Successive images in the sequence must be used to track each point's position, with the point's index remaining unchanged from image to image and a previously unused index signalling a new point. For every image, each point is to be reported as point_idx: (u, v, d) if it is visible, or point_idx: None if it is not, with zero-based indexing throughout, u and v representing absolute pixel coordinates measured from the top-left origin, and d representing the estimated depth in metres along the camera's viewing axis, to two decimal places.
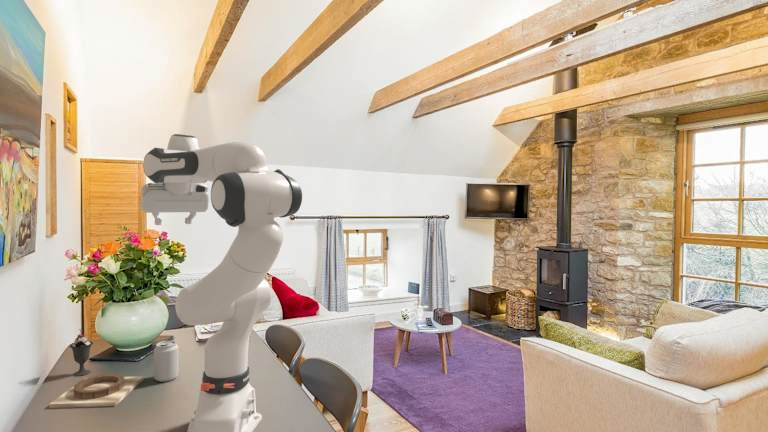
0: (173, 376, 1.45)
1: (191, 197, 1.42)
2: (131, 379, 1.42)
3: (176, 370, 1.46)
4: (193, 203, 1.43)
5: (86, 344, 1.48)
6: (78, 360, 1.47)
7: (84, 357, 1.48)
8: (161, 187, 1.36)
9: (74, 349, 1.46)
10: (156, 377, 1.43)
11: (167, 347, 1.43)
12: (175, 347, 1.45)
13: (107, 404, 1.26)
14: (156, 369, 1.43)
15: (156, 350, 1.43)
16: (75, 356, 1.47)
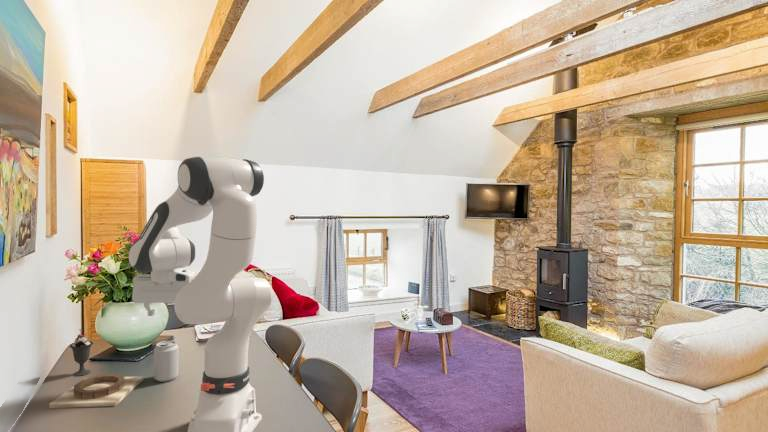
0: (173, 376, 1.45)
1: (176, 287, 1.44)
2: (131, 379, 1.42)
3: (176, 370, 1.46)
4: None
5: (86, 344, 1.48)
6: (78, 360, 1.47)
7: (84, 357, 1.48)
8: (149, 278, 1.44)
9: (74, 349, 1.46)
10: (156, 377, 1.43)
11: (167, 347, 1.43)
12: (175, 347, 1.45)
13: (107, 404, 1.26)
14: (156, 369, 1.43)
15: (156, 350, 1.43)
16: (75, 356, 1.47)
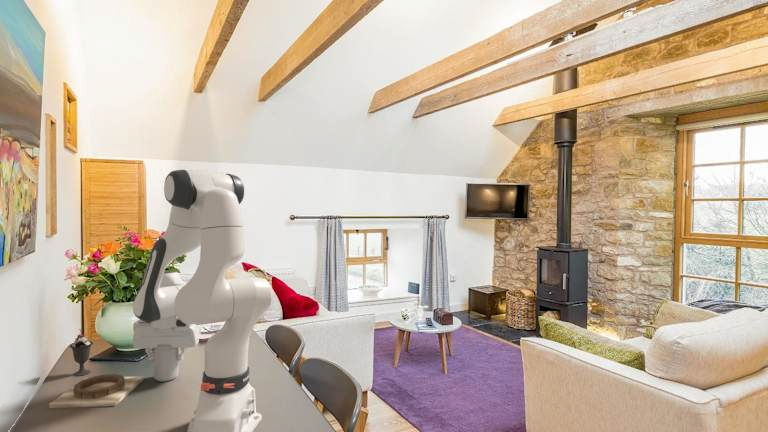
0: (173, 376, 1.45)
1: (176, 332, 1.45)
2: (131, 379, 1.42)
3: (176, 370, 1.46)
4: (179, 338, 1.44)
5: (86, 344, 1.48)
6: (78, 360, 1.47)
7: (84, 357, 1.48)
8: (149, 323, 1.45)
9: (74, 349, 1.46)
10: (156, 377, 1.43)
11: (167, 347, 1.43)
12: None
13: (107, 404, 1.26)
14: (156, 369, 1.43)
15: (156, 350, 1.43)
16: (75, 356, 1.47)
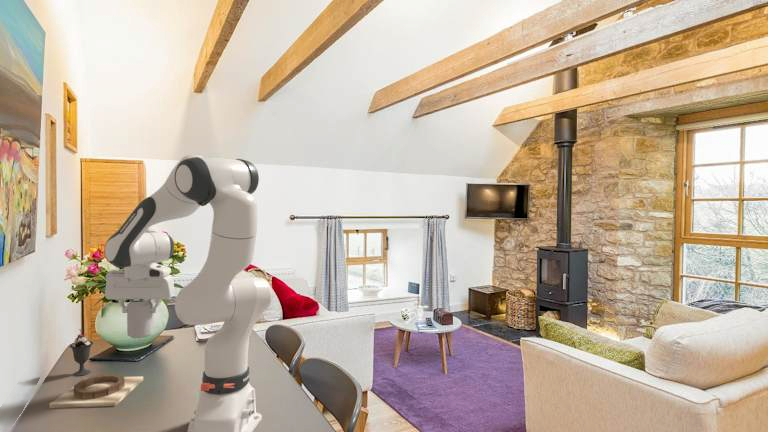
0: (147, 333, 1.40)
1: (150, 283, 1.39)
2: (131, 379, 1.42)
3: (150, 327, 1.41)
4: (153, 289, 1.39)
5: (86, 344, 1.48)
6: (78, 360, 1.47)
7: (84, 357, 1.48)
8: (122, 274, 1.39)
9: (74, 349, 1.46)
10: (129, 333, 1.38)
11: (141, 303, 1.38)
12: (149, 303, 1.40)
13: (107, 404, 1.26)
14: (129, 325, 1.38)
15: (129, 306, 1.38)
16: (75, 356, 1.47)
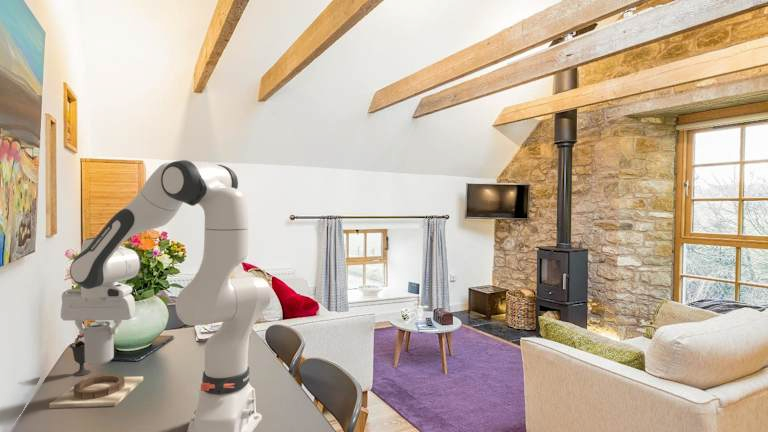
0: (106, 359, 1.33)
1: (109, 302, 1.32)
2: (131, 379, 1.42)
3: (110, 353, 1.34)
4: (112, 309, 1.32)
5: None
6: (78, 360, 1.47)
7: (84, 357, 1.48)
8: (79, 293, 1.32)
9: (74, 349, 1.46)
10: (86, 360, 1.31)
11: (99, 327, 1.31)
12: (108, 328, 1.33)
13: (107, 404, 1.26)
14: (86, 351, 1.31)
15: (86, 331, 1.31)
16: (75, 356, 1.47)
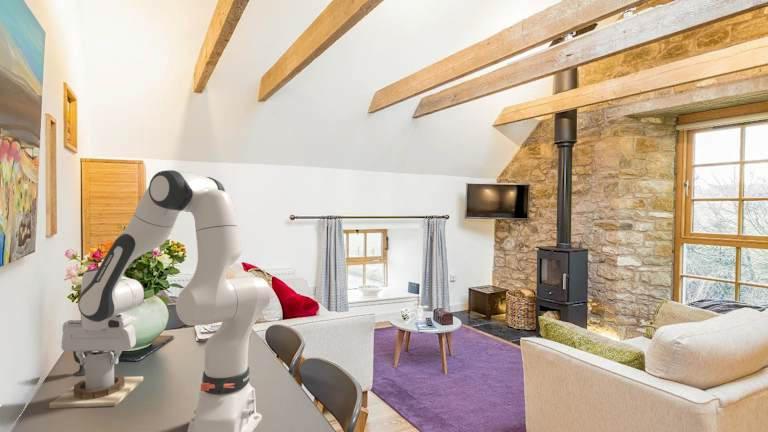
0: None
1: (110, 333, 1.33)
2: (131, 379, 1.42)
3: (110, 380, 1.34)
4: (112, 340, 1.33)
5: None
6: (78, 360, 1.47)
7: None
8: (80, 324, 1.33)
9: None
10: (87, 388, 1.32)
11: (99, 355, 1.32)
12: (109, 355, 1.34)
13: (107, 404, 1.26)
14: (87, 379, 1.32)
15: (87, 358, 1.31)
16: (75, 356, 1.47)
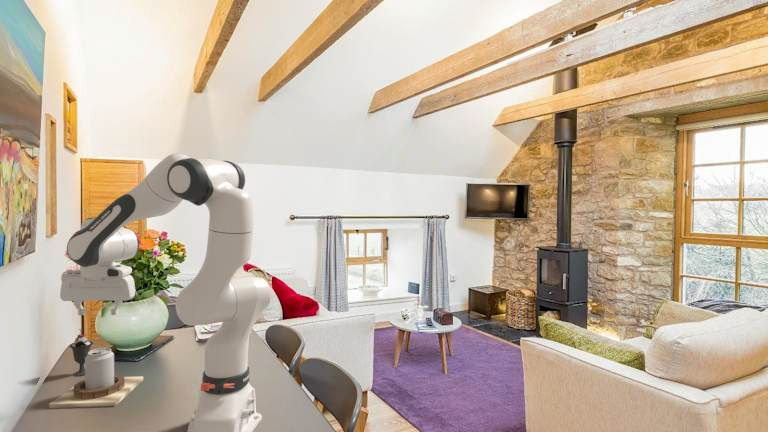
0: None
1: (109, 283, 1.32)
2: (131, 379, 1.42)
3: (110, 380, 1.34)
4: (111, 290, 1.32)
5: (86, 344, 1.48)
6: (78, 360, 1.47)
7: (84, 357, 1.48)
8: (79, 274, 1.32)
9: (74, 349, 1.46)
10: (87, 388, 1.32)
11: (99, 355, 1.32)
12: (109, 355, 1.34)
13: (107, 404, 1.26)
14: (87, 379, 1.32)
15: (87, 358, 1.31)
16: (75, 356, 1.47)
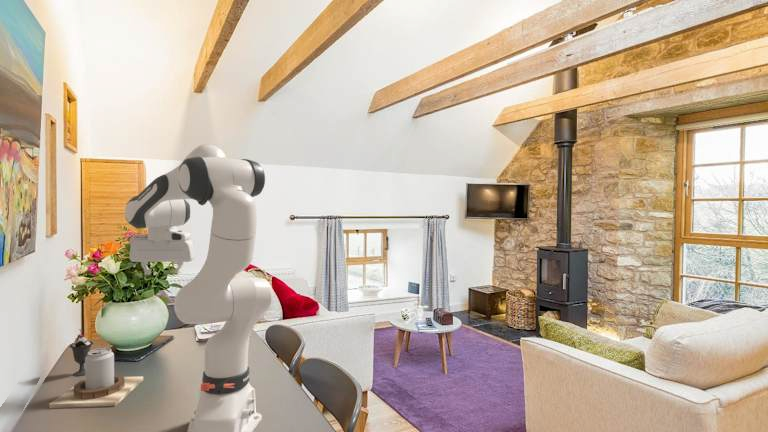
0: None
1: (172, 246, 1.48)
2: (131, 379, 1.42)
3: (110, 380, 1.34)
4: (174, 252, 1.48)
5: (86, 344, 1.48)
6: (78, 360, 1.47)
7: (84, 357, 1.48)
8: (146, 238, 1.48)
9: (74, 349, 1.46)
10: (87, 388, 1.32)
11: (99, 355, 1.32)
12: (109, 355, 1.34)
13: (107, 404, 1.26)
14: (87, 379, 1.32)
15: (87, 358, 1.31)
16: (75, 356, 1.47)
